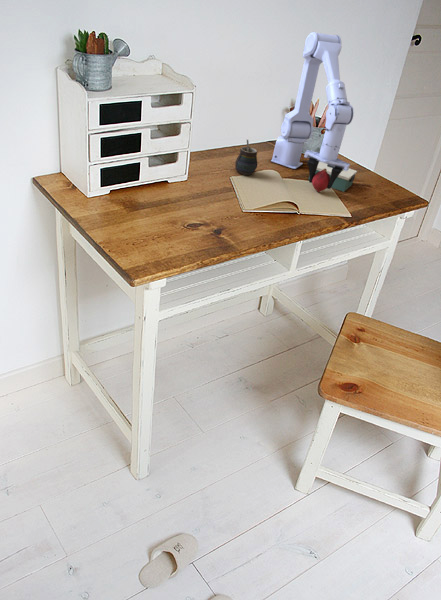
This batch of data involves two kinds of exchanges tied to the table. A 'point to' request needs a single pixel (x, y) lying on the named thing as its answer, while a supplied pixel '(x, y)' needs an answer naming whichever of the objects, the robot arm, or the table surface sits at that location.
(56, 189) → the table surface
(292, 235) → the table surface
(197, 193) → the table surface
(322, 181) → the onion
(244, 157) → the mate gourd
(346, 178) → the lunchbox
